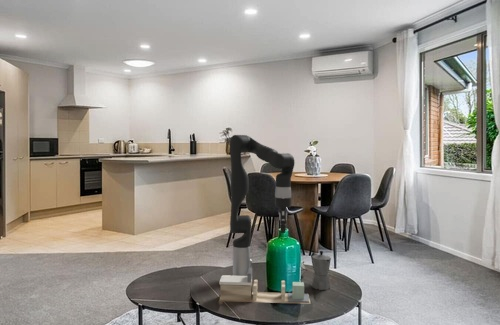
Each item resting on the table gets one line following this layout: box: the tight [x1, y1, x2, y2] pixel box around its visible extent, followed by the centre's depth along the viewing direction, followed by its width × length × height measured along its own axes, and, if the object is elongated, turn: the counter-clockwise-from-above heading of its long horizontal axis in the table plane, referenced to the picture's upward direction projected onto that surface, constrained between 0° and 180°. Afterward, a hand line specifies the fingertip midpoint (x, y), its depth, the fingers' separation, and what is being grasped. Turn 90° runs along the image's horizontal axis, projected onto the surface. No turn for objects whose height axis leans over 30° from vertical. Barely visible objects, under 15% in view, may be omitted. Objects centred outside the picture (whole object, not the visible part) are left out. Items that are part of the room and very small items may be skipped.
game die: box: [300, 261, 308, 278], centre depth 213 cm, size 9×8×10 cm
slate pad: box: [287, 292, 310, 302], centre depth 178 cm, size 9×9×1 cm
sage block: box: [291, 281, 305, 299], centre depth 178 cm, size 5×5×6 cm
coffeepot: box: [310, 250, 332, 291], centre depth 197 cm, size 15×9×18 cm, turn 23°
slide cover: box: [218, 266, 253, 285], centre depth 179 cm, size 9×14×5 cm, turn 86°
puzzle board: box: [218, 279, 311, 305], centre depth 179 cm, size 12×40×8 cm, turn 86°
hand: (282, 230), depth 185 cm, fingers open, 8 cm apart
